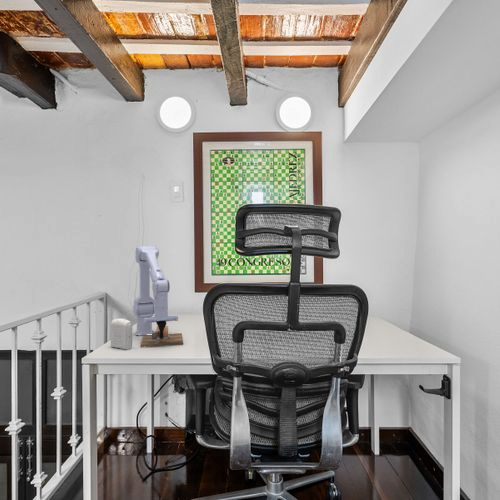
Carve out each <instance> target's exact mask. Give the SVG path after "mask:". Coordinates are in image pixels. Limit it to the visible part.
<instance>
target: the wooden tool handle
mask: <svg viewBox="0 0 500 500" xmlns="http://www.w3.org/2000/svg"><path fill="white" fill-rule="evenodd" d="M159 333H160V330H159V327H158V325H157V326H156V330H155V331H153V333H152V339H157V338H158V337H159ZM168 334H169V326H168V325H166V326H165V328H164V331H163V337H165V336H168Z"/></svg>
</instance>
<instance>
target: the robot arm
mask: <svg viewBox="0 0 500 500" xmlns="http://www.w3.org/2000/svg"><path fill="white" fill-rule="evenodd" d="M159 254H160V250H159V247H158V245H154V246H150V245H149V246H148V245H147V246H146V245H144V246H142V245H141V246H140V245H137V247H136V249H135V262H136V263H137V264H139V296H138V297H136V298H135V299H134V301H133V307H132V309H133V310H132V311H133V314H134V316H135V317H136V333H135V336H136V335H138V336H143V335H147V334H152V333H154V331H153V332H152V330H153V323H156V325H157V326H158V327H159V330H160V333H159V338H160V339H163V331H164V328H165V326H167V322H178V321H179V316H178V315H169V313H168V312H169V310H168V309H169V308H168V307H169V305H168V304H169V302H168V301H169V300H168V297H169V296H168V295H169V294H168V293H169V292H170V288H171V287H170V280H169V279H167V278H166V277H165V273H164V271H163V269H162V268H161V267H159V263H158V258H159V256H160V255H159ZM150 279H151V280H150ZM150 281H151V282H152V285H151V287H150ZM150 288H152V296H153V297H152V296H151V295H150V294H151V293H150V292H151V290H150Z"/></svg>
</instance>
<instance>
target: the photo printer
mask: <svg viewBox="0 0 500 500" xmlns="http://www.w3.org/2000/svg"><path fill="white" fill-rule="evenodd" d="M110 347H112V348H117V349H121V350H131V349H132V347H133V323H132V322H131V321H130V320H128V319H125V318H115V319H112V320H111V323H110Z"/></svg>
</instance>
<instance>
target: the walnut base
mask: <svg viewBox="0 0 500 500" xmlns="http://www.w3.org/2000/svg"><path fill="white" fill-rule="evenodd" d="M183 339H184V338H183V334H182V332H180V333H178V332H177V333H168V336H165V337H163V339H160V338H159V337H158V338H157V339H152V335H142V339H141V342H140V348H144V346H151V347H165V346H164V345H169V346H183V345H184V340H183Z"/></svg>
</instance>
